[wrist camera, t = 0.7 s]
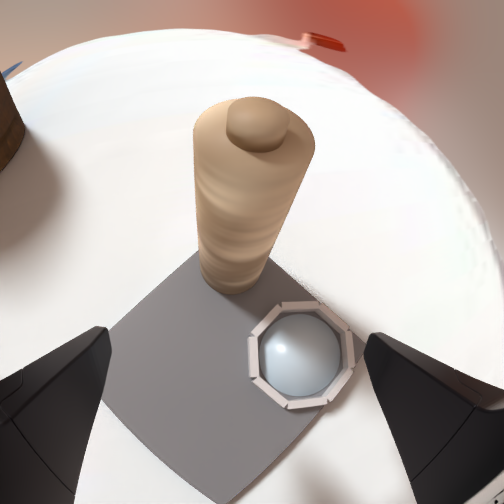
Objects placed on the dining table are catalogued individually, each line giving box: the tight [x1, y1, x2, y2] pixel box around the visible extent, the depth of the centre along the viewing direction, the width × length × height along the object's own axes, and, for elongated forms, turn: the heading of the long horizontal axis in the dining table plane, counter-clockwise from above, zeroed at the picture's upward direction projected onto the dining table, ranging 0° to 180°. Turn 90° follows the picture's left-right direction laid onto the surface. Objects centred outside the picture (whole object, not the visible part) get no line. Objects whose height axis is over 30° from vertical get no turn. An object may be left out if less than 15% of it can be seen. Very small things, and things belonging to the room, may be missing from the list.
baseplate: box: [101, 250, 366, 504], centre depth 20 cm, size 16×18×2 cm
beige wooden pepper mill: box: [193, 97, 315, 295], centre depth 17 cm, size 5×5×15 cm
